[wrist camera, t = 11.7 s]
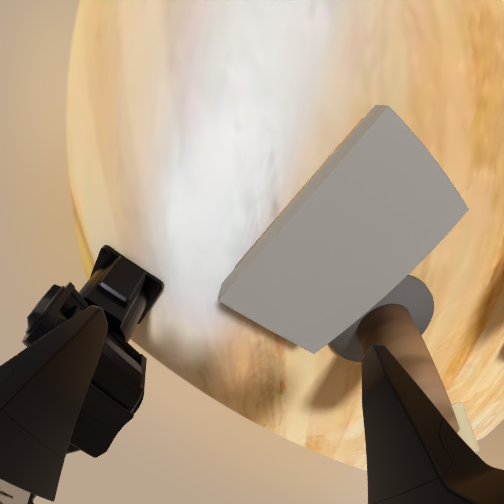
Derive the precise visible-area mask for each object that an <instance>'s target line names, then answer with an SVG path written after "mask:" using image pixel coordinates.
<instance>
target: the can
mask: <svg viewBox="0 0 504 504" xmlns="http://www.w3.org/2000/svg"><path fill="white" fill-rule="evenodd" d="M452 408H453V411H454V413H455V416H456V419H457V422H458V425H459V428H460V430H459V431H458V433H457V434H458V435H459V436H460V437H461V438H462V439H463V440H464V441H465V442H466V443H467V445H468V446H469V447H470V448H471V449H472V450H473V451H474V452H475V453H477V452H478V451H479V450H480V449H479V446H478V443H477V441H476V438H475V435H474V432H473V429H472V426H471V424H470V421H469V418H468V415H467V413H466V410H465V406H464V403H456V404H453V405H452Z"/></svg>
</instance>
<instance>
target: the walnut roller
mask: <svg viewBox="0 0 504 504" xmlns="http://www.w3.org/2000/svg"><path fill="white" fill-rule="evenodd" d="M357 336H358V340H359V343H360V347H361V350H362V354H363V357H364V356H365V354H366V353H367V351H368V349H369V348H370V346H371V345H372V344H383V345H385V346H386V348H387V349H388V350H389V351H390V352H391V353H392V355H393V356H394V357H395V358H396V359H397V360H398V362H399V363H400V364H401V365H402V366H403V368H404V369H405V370H406V371H407V372H408V373H409V375H410V376H411V377H412V378H413V379H414V381H415V382H416V383H417V384H418V386H419V387H420V388H421V389H422V390H423V392H424V393H425V394H426V395H427V397H428V398H429V399H430V400H431V401H432V403H433V404H434V405H435V406H436V408H437V409H438V410H439V411H440V413H441V414H442V417H444V418H445V419H446V420H447V421H448V423H449V424H450V425H451V426H452V428H453V429H454V430H455V431H456V432H457V433H458V431H459V430H460V428H459V425H458V422H457V419H456V416H455V413H454V411H453V408H452V405H451V403H450V400H449V397H448V395H447V392H446V390H445V387H444V385H443V383H442V380H441V378H440V376H439V373H438V371H437V369H436V366H435V364H434V362H433V360H432V357H431V355H430V353H429V351H428V349H427V347H426V345H425V343H424V340H423V338H422V336H421V334H420V332H419V330H418V328H417V326H416V324H415V322H414V320H413V318H412V317H411V315H410V313H409V311H408V309H407V308H406V307H405V306H403V305H401V304H395V303H392V304H385V305H382V306H379V307H377V308H375V309H373V310H372V311H370V312H369V313H368V314H367V315H366V316H365V317H364V318H363V319H362V320H361V321H360V323H359V325H358V328H357Z"/></svg>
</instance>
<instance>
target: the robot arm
mask: <svg viewBox="0 0 504 504" xmlns="http://www.w3.org/2000/svg"><path fill="white" fill-rule="evenodd" d="M105 250H106V251H107V252H108V253H107V252H106V251H105ZM156 284H157V285H159V286H157V285H156ZM163 286H164V285H163V282H162V281H161V280H159V279H158V278H156V277H155V276H153V275H151V274H150V273H148V272H147V271H145V270H144V269H142V268H141V267H139V266H138V265H136V264H135V263H133V262H132V261H130V260H129V259H127V258H126V257H124V256H123V255H121V254H120V253H118V252H117V251H115V250H114V249H113V248H111V247H110V246H108V245H104V246H103V247H102V248H101V250H100V252H99V255H98V258H97V260H96V263H95V266H94V268H93V271H92V274H91V277H90V279H89V280H88V282H87V283H86V284H85V285H84V287H83V288H82V289H81V290H80V292H79V293H78V292H77V291H76V289H75V287H74V285H73V284H72V283H71V282H70V283H69V284H68V285H67V286H65V287H64V286H63V287H60V286H58V285H55V284H54V285H53V286H52V287H51V288H50V289H49V291H48V292H47V293H46V294H45V295H44V296H43V297H42V299H41V300H40V301H39V302H38V304H37V305H36V306H35V308H34V309H33V310H32V312H31V313H30V315H29V316H28V317H27V319H28V328H27V330H26V335H25V337H24V339H23V341H22V342H23V343H24V344H25V345H26V346H27V348H26V349H24V350H23V351H21V352H20V353H19V354H18V355H16V356H14V357H13V358H11V359H10V360H9V361H7V362H5V363H4V364H3V365H1V366H0V504H34V503H33V500H34V498H35V497H36V495H37V496H39V497H42V498H45V499H47V500H51V501H54V499H55V495H56V491H57V487H58V483H59V478H60V474H61V470H62V467H63V463H64V458H65V456H66V454H68V453H72V452H76V451H79V450H82V451H83V452H85V453H87V454H88V455H90V456H92V457H98V456H100V455H101V454H103V453H105V452H106V451H107V450H108V448H109V446H110V444H111V443H112V441H113V439H114V438H115V436H116V435H117V433H118V432H119V431H120V430H121V428H122V427H123V426H124V425H125V424H126V423H127V422H129V421H130V420H131V419H132V418H133V416H134V413H135V412H136V411H137V409H138V408H139V406H140V404H141V402H142V400H143V396H144V384H145V371H146V360H147V359H146V358H145V357H144V356H143V355H142V354H139V353H138V352H137V351H136V350H135V349H134V348H133V347H132V346H131V345H129V344H128V341H129V339H130V337H131V335H132V333H133V331H134V329H135V327H136V325H137V324H139V323H140V322H141V321H142V319H143V318H144V316H145V315H146V313H147V311H148V310H149V308H150V307H151V305H152V304H153V302H154V301H155V299H156V297H157V296H158V294H159V293H160V291H161V290H162V288H163ZM362 407H363V418H364V428H365V440H366V455H367V475H368V504H504V470H501V469H497V468H494V467H491V466H489V465H487V464H486V463H485V462H484V461H483V460H482V459H481V458H480V457H479V456H478V455H477V454H476V453H475V452H474V451H473V450H472V449H471V448H470V447H469V446H468V445H467V443H466V442H465V441H464V440H463V439H462V438H461V437H460V436H459V435H458V434H457V432H456V431H455V430H454V429H453V428H452V426H451V425H450V424H449V423H448V421H447V420H446V419H445V418H444V417H442V414H441V413H440V411H439V410H438V409H437V408H436V406H435V405H434V404H433V403H432V401H431V400H430V399H429V398H428V397H427V395H426V394H425V393H424V392H423V390H422V389H421V388H420V387H419V386H418V384H417V383H416V382H415V381H414V379H413V378H412V377H411V376H410V375H409V373H408V372H407V371H406V370H405V369H404V368H403V366H402V365H401V364H400V363H399V362H398V360H397V359H396V358H395V357H394V356H393V355H392V353H391V352H390V351H389V350H388V349H387V348H386V346H385V345H383V344H372V345H371V346H370V348H369V349H368V351H367V353H366V354H365V356H364V358H363V360H362Z"/></svg>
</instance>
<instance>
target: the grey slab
mask: <svg viewBox="0 0 504 504" xmlns="http://www.w3.org/2000/svg"><path fill="white" fill-rule="evenodd" d="M468 209H469V208H468V207H467V205H466V204H465V202H464V200H463V199H462V197H461V196H460V194H459V193H458V191H457V190H456V188H455V187H454V185H453V184H452V182H451V181H450V179H449V178H448V177H447V175H446V174H445V172H444V171H443V170H442V168H441V167H440V165H439V164H438V163H437V161H436V160H435V159H434V158H433V156H432V155H431V154H430V152H429V151H428V150H427V149H426V147H425V146H424V145H423V144H422V142H421V141H420V140H419V139H418V138H417V136H416V135H415V134H414V133H413V132H412V131H411V129H410V128H409V127H408V126H407V125H406V124H405V123H404V122H403V120H402V119H401V118H400V117H399V116H398V115H397V114H396V113H395V112H394V111H393V110H392V109H391V108H390V107H389V106H384V105H375V106H374V108H373V109H372V110H371V111H370V112H369V113H368V114H367V116H366V117H365V118H364V119H363V118H362V119H361V121H360V122H359V123H358V124H357V125H356V126H355V127H354V129H353V130H352V131H351V132H350V133H349V134H348V136H347V137H346V138H345V139H344V140H343V141H342V143H341V144H340V145H339V146H338V147H337V148H336V149H335V151H334V152H333V153H332V154H331V155H330V156H329V158H328V159H327V160H326V161H325V162H324V163H323V165H322V166H321V167H320V168H319V169H318V170H317V172H316V173H315V174H314V175H313V176H312V177H311V178H310V180H309V181H308V182H307V183H306V184H305V185H304V187H303V188H302V189H301V190H300V191H299V192H298V194H297V195H296V196H295V197H294V198H293V199H292V201H291V202H290V203H289V204H288V205H287V206H286V208H285V209H284V210H283V211H282V212H281V213H280V215H279V216H278V217H277V218H276V219H275V220H274V222H273V223H272V224H271V225H270V226H269V227H268V229H267V230H266V231H265V232H264V233H263V234H262V236H261V237H260V238H259V239H258V240H257V241H256V243H255V244H254V245H253V246H252V247H251V248H250V250H249V251H248V252H247V253H246V254H245V255H244V257H243V258H242V259H241V260H240V261H239V262H238V264H237V265H236V266H235V269H234V270H233V271H232V272H231V274H230V275H229V276H228V277H227V278H226V279H225V281H224V282H223V283H222V286H221V290H220V294H219V298H218V301H219V302H221V303H223V304H225V305H226V306H228V307H230V308H231V309H233V310H235V311H237V312H238V313H240V314H242V315H243V316H245V317H247V318H249V319H251V320H252V321H254V322H256V323H258V324H259V325H261V326H263V327H265V328H267V329H268V330H270V331H272V332H274V333H276V334H278V335H279V336H281V337H283V338H285V339H287V340H289V341H290V342H292V343H294V344H296V345H298V346H300V347H302V348H304V349H306V350H308V351H310V352H311V353H313V354H315V353H316V352H317V351H319V350H320V349H321V348H323V347H324V346H325V345H327V344H328V343H329V342H331V341H332V340H333V339H335V338H336V337H337V336H338V335H340V334H341V333H342V332H343V331H345V330H346V329H347V328H348V327H350V326H351V325H352V324H353V323H354V322H356V321H357V320H358V319H359V318H360V317H362V316H363V315H364V314H365V313H366V312H368V311H369V310H370V309H371V308H372V307H373V306H375V305H376V304H377V303H378V302H379V301H380V300H381V299H382V298H384V297H385V296H386V295H387V294H388V293H389V292H390V291H391V290H392V289H393V288H395V287H396V286H397V285H398V284H399V283H400V282H401V281H402V280H403V279H404V278H405V277H406V276H407V275H408V274H409V273H410V272H411V271H412V270H413V269H414V268H415V267H416V266H417V265H418V264H419V263H420V262H421V261H422V260H423V259H424V258H425V257H426V256H427V255H428V254H429V253H430V252H431V251H432V250H433V249H434V248H435V247H436V246H437V245H438V244H439V243H440V241H441V240H442V239H443V238H444V237H445V236H446V235H447V234H448V233H449V232H450V230H451V229H452V228H453V227H454V226H455V225H456V224H457V222H458V221H459V220H460V219H461V218H462V217H463V215H464V214H465V213H466V212H467V211H468Z"/></svg>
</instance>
